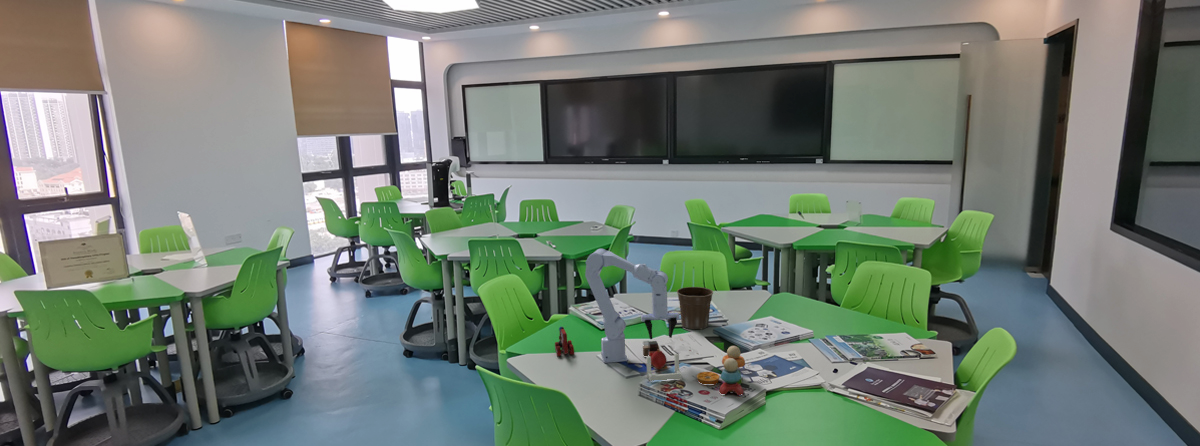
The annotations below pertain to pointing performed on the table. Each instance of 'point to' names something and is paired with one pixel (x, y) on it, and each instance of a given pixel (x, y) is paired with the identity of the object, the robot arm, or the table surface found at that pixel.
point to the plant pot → (695, 306)
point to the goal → (663, 376)
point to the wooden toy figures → (727, 372)
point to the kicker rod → (651, 347)
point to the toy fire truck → (563, 344)
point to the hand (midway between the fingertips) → (660, 337)
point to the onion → (658, 359)
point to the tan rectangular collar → (646, 350)
